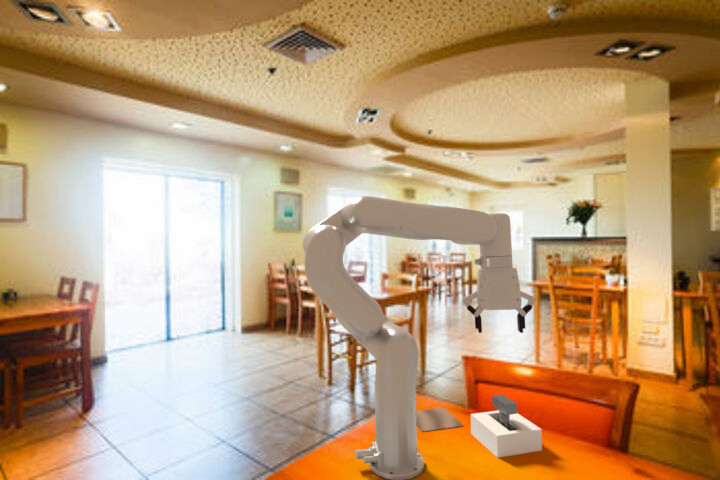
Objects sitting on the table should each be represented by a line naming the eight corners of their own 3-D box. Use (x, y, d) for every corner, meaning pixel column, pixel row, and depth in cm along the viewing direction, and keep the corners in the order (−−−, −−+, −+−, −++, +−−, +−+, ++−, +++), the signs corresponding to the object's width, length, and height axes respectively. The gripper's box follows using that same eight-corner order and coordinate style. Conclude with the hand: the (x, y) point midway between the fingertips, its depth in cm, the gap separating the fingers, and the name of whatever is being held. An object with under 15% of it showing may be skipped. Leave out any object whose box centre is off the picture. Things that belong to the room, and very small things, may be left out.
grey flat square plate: (422, 435, 104) (422, 431, 104) (406, 416, 115) (406, 412, 115) (463, 430, 107) (463, 425, 107) (443, 411, 118) (443, 407, 118)
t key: (497, 449, 94) (496, 405, 94) (484, 437, 100) (483, 396, 100) (526, 445, 96) (525, 402, 96) (511, 433, 102) (510, 393, 102)
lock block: (497, 461, 91) (497, 435, 91) (471, 437, 103) (470, 414, 103) (541, 454, 94) (541, 429, 94) (511, 431, 106) (510, 408, 106)
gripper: (461, 265, 96) (465, 335, 96) (537, 262, 92) (540, 335, 92) (460, 263, 103) (463, 328, 103) (530, 260, 100) (533, 327, 100)
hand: (500, 331), depth 98 cm, fingers open, 9 cm apart
